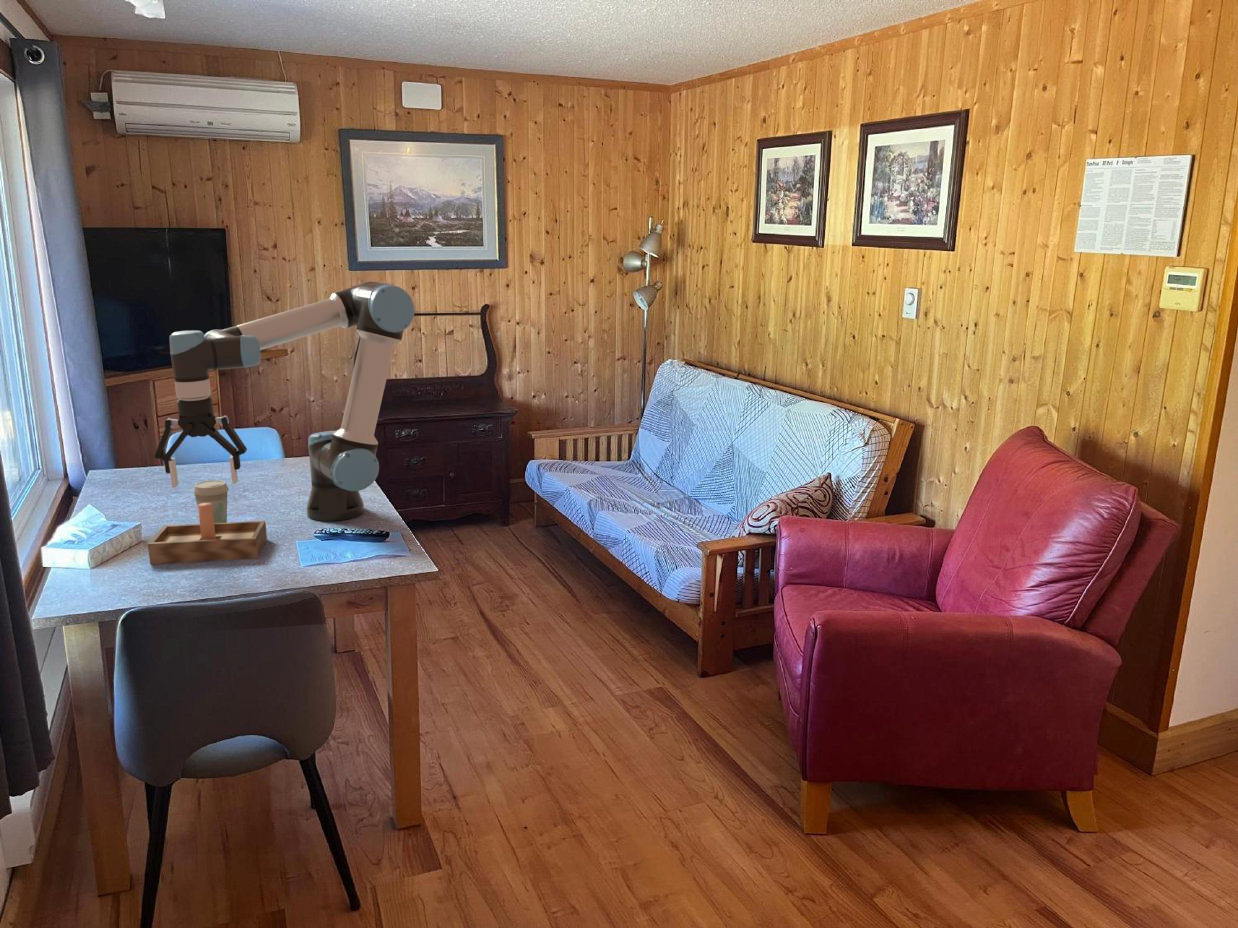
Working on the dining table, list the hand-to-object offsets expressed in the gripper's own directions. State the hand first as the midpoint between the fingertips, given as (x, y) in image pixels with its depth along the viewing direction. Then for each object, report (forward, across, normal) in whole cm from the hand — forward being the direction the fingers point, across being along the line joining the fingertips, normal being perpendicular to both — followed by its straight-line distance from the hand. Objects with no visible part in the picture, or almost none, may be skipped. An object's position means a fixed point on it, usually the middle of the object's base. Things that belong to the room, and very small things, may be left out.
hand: (205, 484), depth 229 cm
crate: (+17, +1, 0) cm, 17 cm away
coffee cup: (+17, +4, -19) cm, 26 cm away
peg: (+17, +1, 0) cm, 17 cm away
